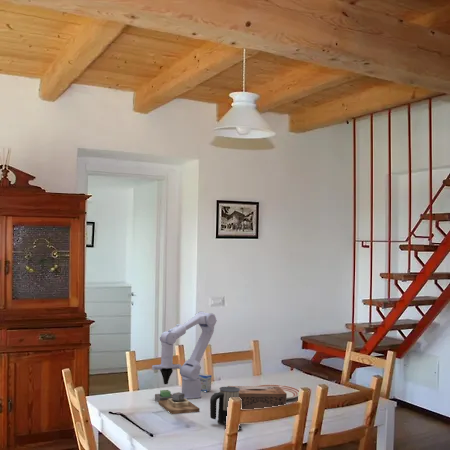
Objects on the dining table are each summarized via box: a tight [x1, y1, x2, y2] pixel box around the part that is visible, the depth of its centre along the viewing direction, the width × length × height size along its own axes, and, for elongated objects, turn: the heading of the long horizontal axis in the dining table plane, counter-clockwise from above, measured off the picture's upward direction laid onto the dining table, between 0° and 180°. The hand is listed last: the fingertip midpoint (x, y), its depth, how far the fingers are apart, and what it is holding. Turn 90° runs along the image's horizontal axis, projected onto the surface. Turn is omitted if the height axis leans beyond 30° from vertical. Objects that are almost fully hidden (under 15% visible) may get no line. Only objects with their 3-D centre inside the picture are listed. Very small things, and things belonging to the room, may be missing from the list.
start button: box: [159, 389, 172, 397], centre depth 287 cm, size 4×4×2 cm
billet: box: [172, 392, 185, 402], centre depth 275 cm, size 4×4×5 cm
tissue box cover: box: [227, 385, 287, 409], centre depth 277 cm, size 26×14×10 cm, turn 98°
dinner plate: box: [256, 383, 300, 401], centre depth 306 cm, size 27×27×3 cm
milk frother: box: [209, 386, 243, 429], centre depth 251 cm, size 14×16×15 cm
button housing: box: [154, 393, 173, 403], centre depth 287 cm, size 8×8×2 cm
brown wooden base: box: [158, 398, 200, 415], centre depth 275 cm, size 14×18×4 cm
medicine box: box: [197, 373, 213, 393], centre depth 311 cm, size 8×4×9 cm, turn 62°
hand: (165, 383), depth 287 cm, fingers closed
